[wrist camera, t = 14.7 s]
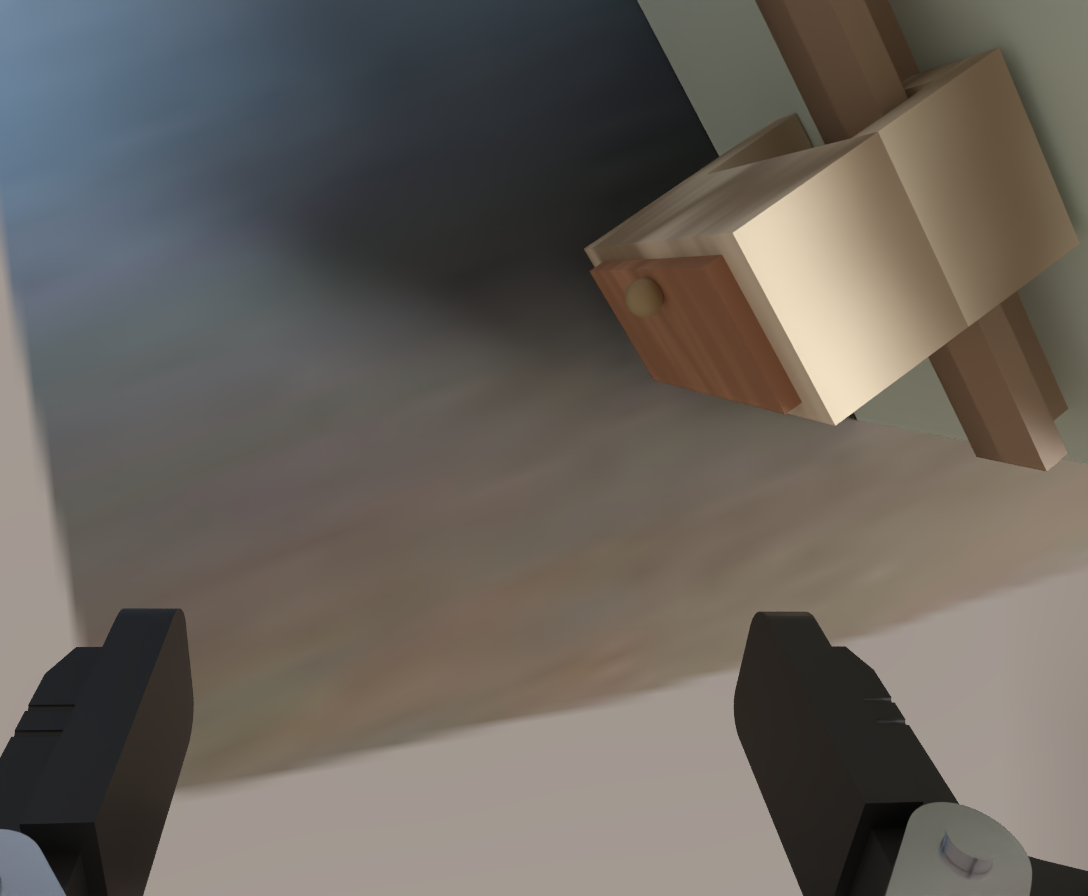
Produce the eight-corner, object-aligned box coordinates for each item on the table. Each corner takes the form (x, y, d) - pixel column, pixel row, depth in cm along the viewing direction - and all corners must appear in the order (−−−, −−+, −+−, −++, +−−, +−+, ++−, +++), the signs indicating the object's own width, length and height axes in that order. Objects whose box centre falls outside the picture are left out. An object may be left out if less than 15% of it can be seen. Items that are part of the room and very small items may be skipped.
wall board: (809, 458, 37) (1529, 653, 16) (545, -20, 31) (1147, -660, 10) (1000, 309, 39) (1867, 315, 18) (785, -169, 33) (1702, -968, 12)
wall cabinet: (627, 405, 30) (787, 461, 21) (547, 273, 29) (679, 269, 19) (838, 255, 31) (1080, 243, 22) (771, 121, 30) (999, 47, 21)
